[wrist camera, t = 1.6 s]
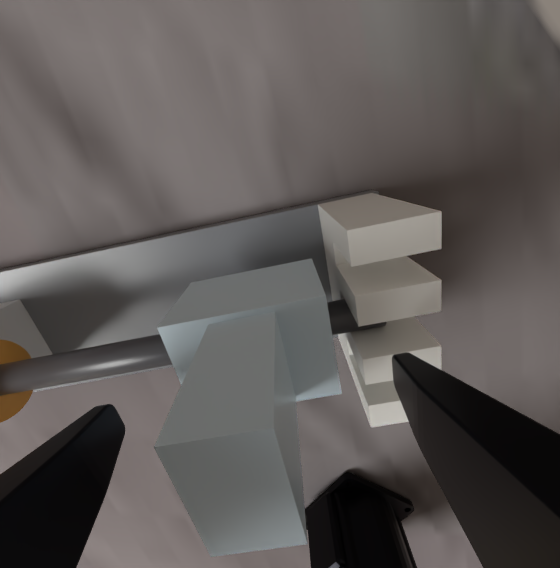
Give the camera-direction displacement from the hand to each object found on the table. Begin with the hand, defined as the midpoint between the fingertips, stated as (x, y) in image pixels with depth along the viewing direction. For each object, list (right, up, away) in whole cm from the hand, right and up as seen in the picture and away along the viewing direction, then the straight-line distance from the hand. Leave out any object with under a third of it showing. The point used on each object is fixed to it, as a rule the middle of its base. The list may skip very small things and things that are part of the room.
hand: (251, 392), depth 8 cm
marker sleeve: (0, +2, +4) cm, 5 cm away
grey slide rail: (-4, +2, +8) cm, 9 cm away
